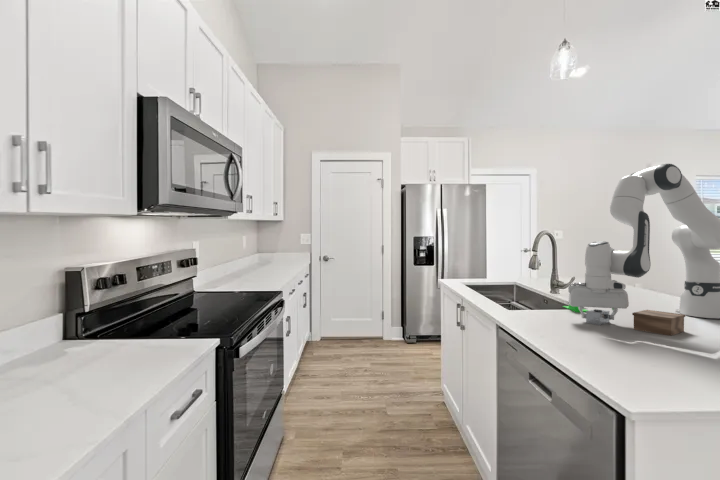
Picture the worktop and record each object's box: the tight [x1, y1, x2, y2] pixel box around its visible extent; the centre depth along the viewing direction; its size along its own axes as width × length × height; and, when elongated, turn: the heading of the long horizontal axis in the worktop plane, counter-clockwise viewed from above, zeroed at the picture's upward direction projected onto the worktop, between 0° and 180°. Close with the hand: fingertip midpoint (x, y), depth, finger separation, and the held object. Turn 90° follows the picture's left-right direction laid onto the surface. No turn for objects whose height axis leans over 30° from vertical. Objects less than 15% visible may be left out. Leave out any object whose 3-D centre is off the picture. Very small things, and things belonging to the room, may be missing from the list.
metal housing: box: [585, 309, 610, 326], centre depth 158 cm, size 8×5×5 cm, turn 126°
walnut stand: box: [631, 309, 686, 337], centre depth 146 cm, size 12×12×6 cm
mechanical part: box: [561, 303, 590, 313], centre depth 182 cm, size 12×6×8 cm, turn 178°
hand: (597, 318), depth 158 cm, fingers open, 8 cm apart
